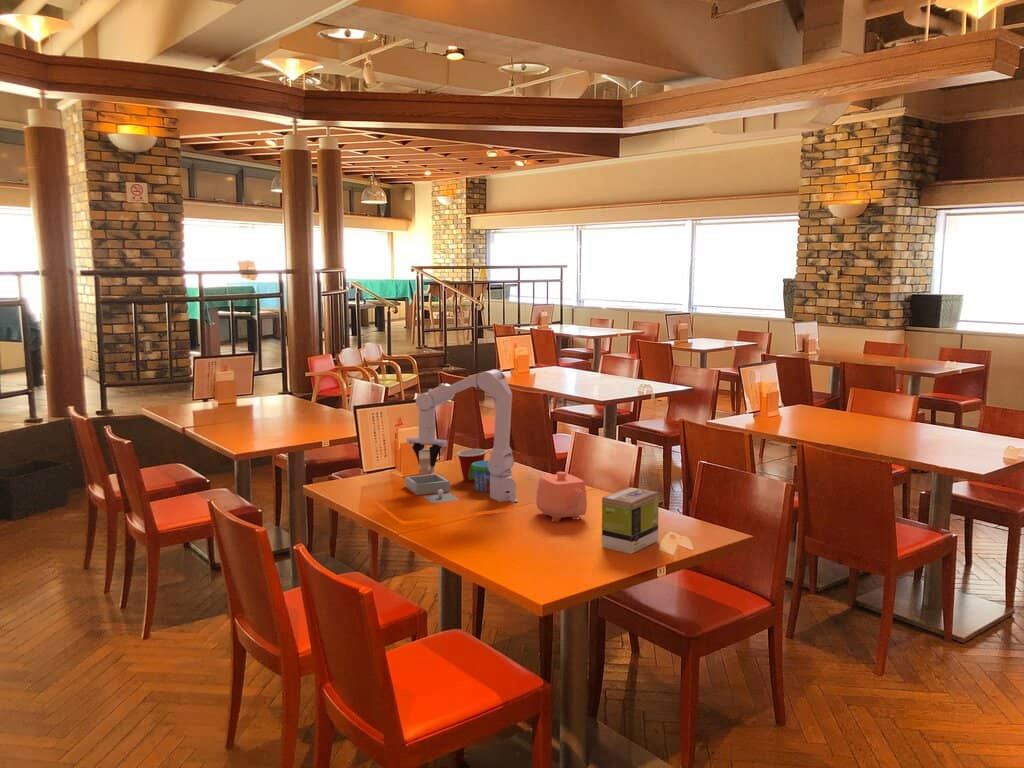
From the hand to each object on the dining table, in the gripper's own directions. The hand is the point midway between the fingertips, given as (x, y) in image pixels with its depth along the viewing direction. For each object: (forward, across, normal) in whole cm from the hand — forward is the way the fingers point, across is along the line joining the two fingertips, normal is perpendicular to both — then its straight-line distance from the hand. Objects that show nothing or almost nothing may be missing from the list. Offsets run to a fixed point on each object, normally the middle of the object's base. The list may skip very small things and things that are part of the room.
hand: (427, 465), depth 286 cm
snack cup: (+10, -20, -7) cm, 23 cm away
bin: (+9, 0, 0) cm, 9 cm away
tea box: (+10, -78, +32) cm, 85 cm away
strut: (+2, 0, 0) cm, 3 cm away
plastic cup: (+10, -10, -17) cm, 22 cm away
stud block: (+9, -9, +9) cm, 16 cm away
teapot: (+10, -52, +13) cm, 55 cm away
